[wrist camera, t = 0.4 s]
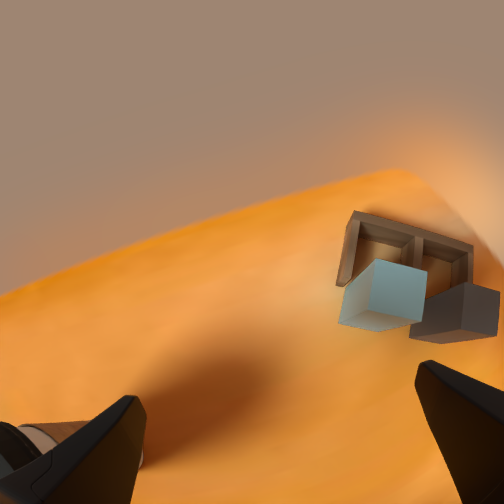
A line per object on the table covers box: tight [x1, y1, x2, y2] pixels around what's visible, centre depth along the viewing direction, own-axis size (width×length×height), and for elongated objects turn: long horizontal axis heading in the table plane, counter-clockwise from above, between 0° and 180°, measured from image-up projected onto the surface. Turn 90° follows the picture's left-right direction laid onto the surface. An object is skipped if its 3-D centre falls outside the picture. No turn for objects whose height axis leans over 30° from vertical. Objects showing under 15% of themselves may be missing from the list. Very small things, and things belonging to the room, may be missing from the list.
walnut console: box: [336, 210, 473, 289], centre depth 22 cm, size 6×12×3 cm, turn 74°
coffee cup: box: [0, 420, 143, 478], centre depth 13 cm, size 8×8×15 cm
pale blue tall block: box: [338, 258, 428, 332], centre depth 19 cm, size 3×4×8 cm
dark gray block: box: [409, 282, 500, 344], centre depth 18 cm, size 3×4×8 cm
